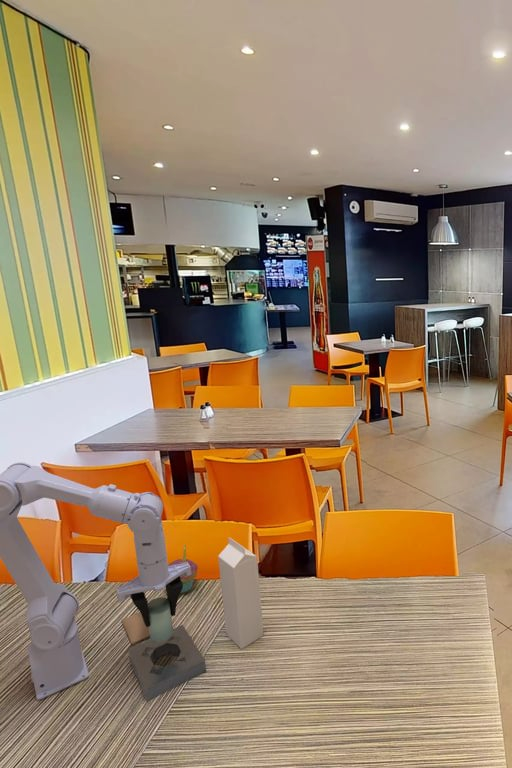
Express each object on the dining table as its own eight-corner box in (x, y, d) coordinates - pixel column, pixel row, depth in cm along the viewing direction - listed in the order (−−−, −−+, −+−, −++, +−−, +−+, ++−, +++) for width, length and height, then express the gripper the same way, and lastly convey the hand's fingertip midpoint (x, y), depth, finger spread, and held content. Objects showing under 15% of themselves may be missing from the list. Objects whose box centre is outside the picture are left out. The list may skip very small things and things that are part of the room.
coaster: (132, 645, 97) (131, 643, 97) (121, 621, 104) (121, 619, 104) (171, 628, 101) (171, 625, 101) (158, 606, 109) (158, 604, 109)
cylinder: (154, 645, 87) (150, 616, 86) (147, 631, 91) (143, 603, 90) (176, 635, 89) (172, 606, 88) (168, 622, 93) (165, 594, 92)
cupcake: (202, 577, 119) (197, 535, 117) (194, 598, 111) (189, 554, 109) (171, 577, 120) (166, 536, 118) (161, 598, 112) (155, 554, 110)
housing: (147, 701, 83) (145, 689, 82) (129, 659, 93) (128, 649, 93) (206, 670, 89) (205, 659, 88) (183, 634, 99) (182, 624, 98)
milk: (241, 649, 93) (231, 554, 89) (225, 634, 98) (215, 542, 94) (264, 635, 97) (256, 542, 93) (248, 620, 102) (239, 531, 97)
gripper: (119, 580, 80) (128, 646, 83) (194, 553, 87) (200, 614, 90) (110, 562, 86) (119, 624, 89) (181, 538, 93) (187, 596, 96)
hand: (159, 618), depth 90 cm, fingers closed on cylinder, 5 cm apart
